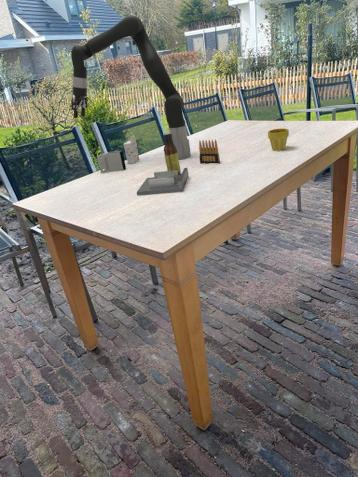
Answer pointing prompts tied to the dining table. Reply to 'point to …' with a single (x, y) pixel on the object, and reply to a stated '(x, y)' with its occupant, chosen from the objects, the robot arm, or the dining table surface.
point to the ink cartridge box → (131, 150)
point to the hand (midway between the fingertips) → (79, 117)
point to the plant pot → (278, 138)
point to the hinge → (111, 161)
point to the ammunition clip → (208, 152)
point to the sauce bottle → (171, 154)
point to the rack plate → (164, 182)
